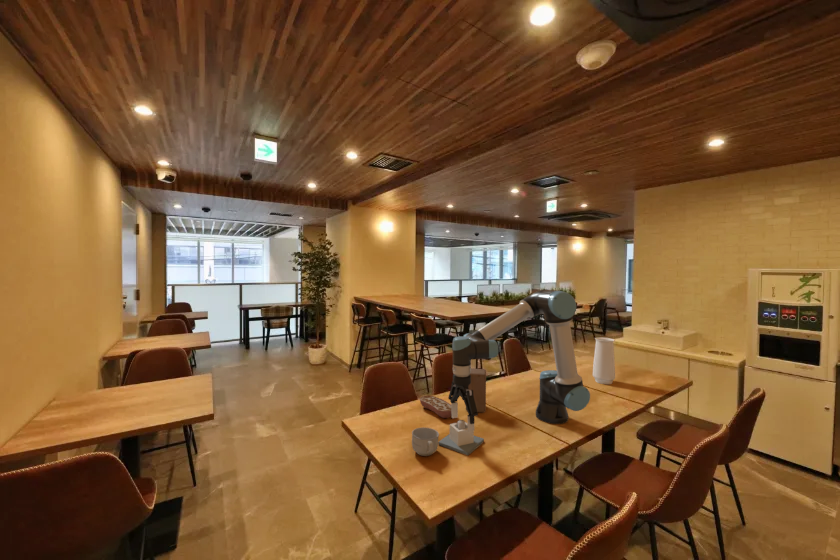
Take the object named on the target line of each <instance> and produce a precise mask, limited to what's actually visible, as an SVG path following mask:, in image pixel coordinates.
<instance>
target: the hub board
mask: <svg viewBox="0 0 840 560" xmlns="http://www.w3.org/2000/svg"><path fill="white" fill-rule="evenodd" d="M465 422H466V420H464V419H459V420H457V422H456V423H457V428H458V429H459V430H461V429H465ZM484 442H485V439H484V438H483V437H480V436H477V435H474V443H470V444H466V445H461V446H457V445H456V444H455V443H454V442H453V441H452V440H451V439H450V433H449V434H447V435H446V436H445V437H443V438H441V439H440V440H438V446H441V447H442V448H446V449H449V450H451V451H455V452H457V453H460V454H462V455H465V456H469V455H471V453H473V452H474V451H475V450H476V449H477V448H479V446H481V445H482V444H483V443H484Z"/></svg>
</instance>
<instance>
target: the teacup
mask: <svg viewBox="0 0 840 560" xmlns="http://www.w3.org/2000/svg"><path fill="white" fill-rule="evenodd" d="M439 436H440V433H439V431H438V430H436V429H434V428H432V427H431V428H430V427H424V426H423V427H417V428H415V429H413V430H411V446H412V447H411V448H412V449H413V451H414V452H416V454H417V455H419V456H423V457H427V456H431V455H433V454H434V453H436V452H437V450H438V447H439V445H438V442H439Z"/></svg>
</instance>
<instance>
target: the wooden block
mask: <svg viewBox="0 0 840 560" xmlns="http://www.w3.org/2000/svg"><path fill="white" fill-rule="evenodd" d="M470 375H471V384H470V385H469V386H468V388H469V390H473V396H474V400H475V404H476V408H477V412H478V413H486V410H487V409H486V408H487V404H486V403H487V370H486V369H483V368H471V374H470ZM466 397H467V396H466ZM465 410H466V412H468V411H467V408H466V407H465Z"/></svg>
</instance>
